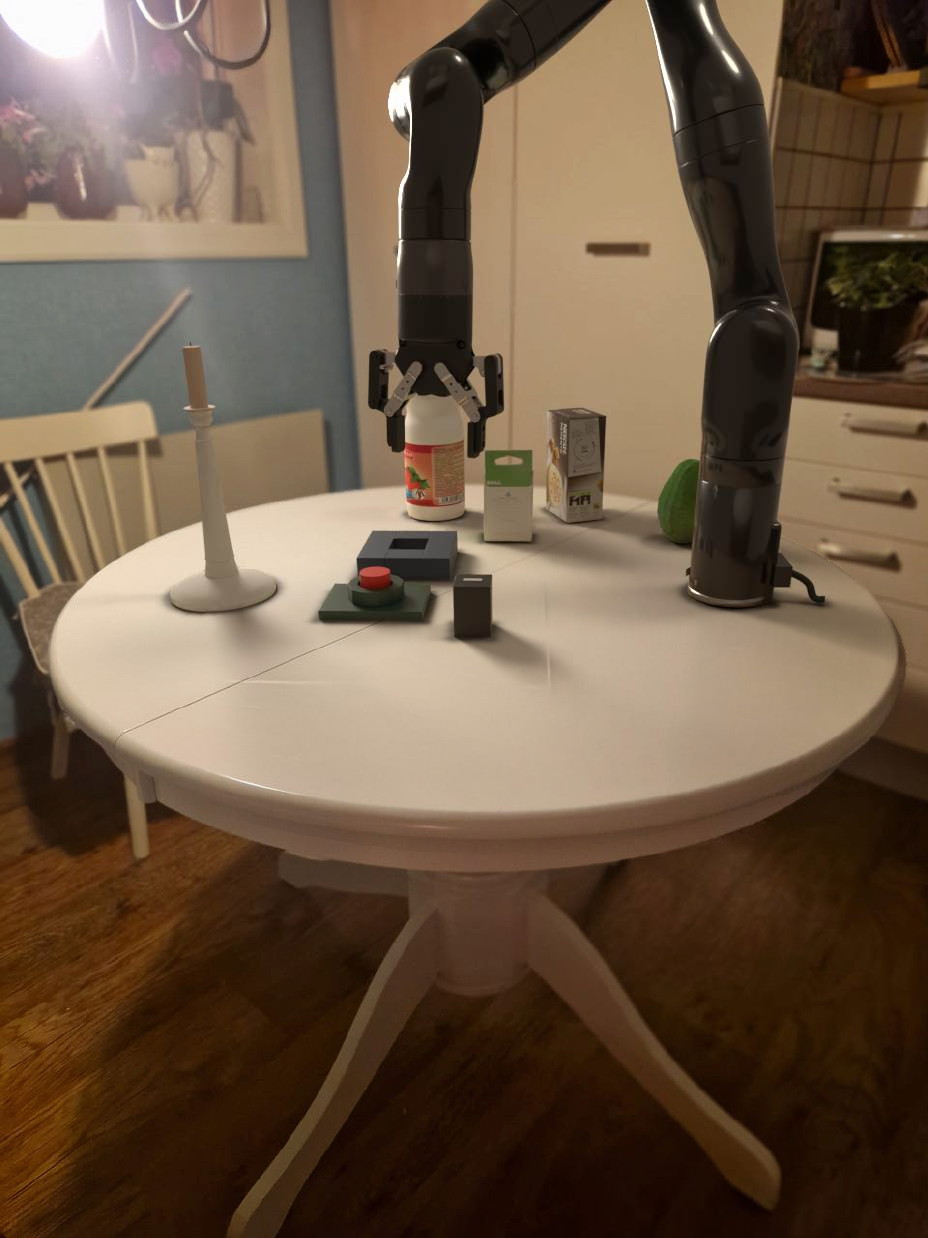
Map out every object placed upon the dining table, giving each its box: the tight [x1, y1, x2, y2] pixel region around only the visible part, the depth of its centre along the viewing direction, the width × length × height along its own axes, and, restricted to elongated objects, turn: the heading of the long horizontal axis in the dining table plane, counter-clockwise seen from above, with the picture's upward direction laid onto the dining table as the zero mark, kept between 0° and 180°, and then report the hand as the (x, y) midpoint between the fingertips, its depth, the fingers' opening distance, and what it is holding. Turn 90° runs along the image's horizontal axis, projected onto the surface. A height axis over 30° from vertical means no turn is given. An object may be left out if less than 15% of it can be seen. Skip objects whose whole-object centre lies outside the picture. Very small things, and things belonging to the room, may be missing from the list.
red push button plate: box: [317, 574, 432, 622], centre depth 102 cm, size 12×9×3 cm
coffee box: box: [545, 407, 607, 524], centre depth 135 cm, size 9×6×16 cm
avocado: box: [656, 458, 700, 545], centre depth 122 cm, size 8×8×12 cm
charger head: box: [452, 573, 493, 639], centre depth 95 cm, size 4×4×6 cm
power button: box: [359, 567, 391, 589], centre depth 102 cm, size 4×4×2 cm
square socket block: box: [356, 530, 459, 581], centre depth 116 cm, size 12×12×3 cm
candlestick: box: [169, 342, 277, 613], centre depth 102 cm, size 13×13×30 cm
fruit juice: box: [403, 393, 466, 522], centre depth 134 cm, size 9×9×28 cm
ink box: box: [483, 449, 534, 542], centre depth 124 cm, size 7×4×13 cm, turn 84°
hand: (435, 454), depth 92 cm, fingers open, 8 cm apart
